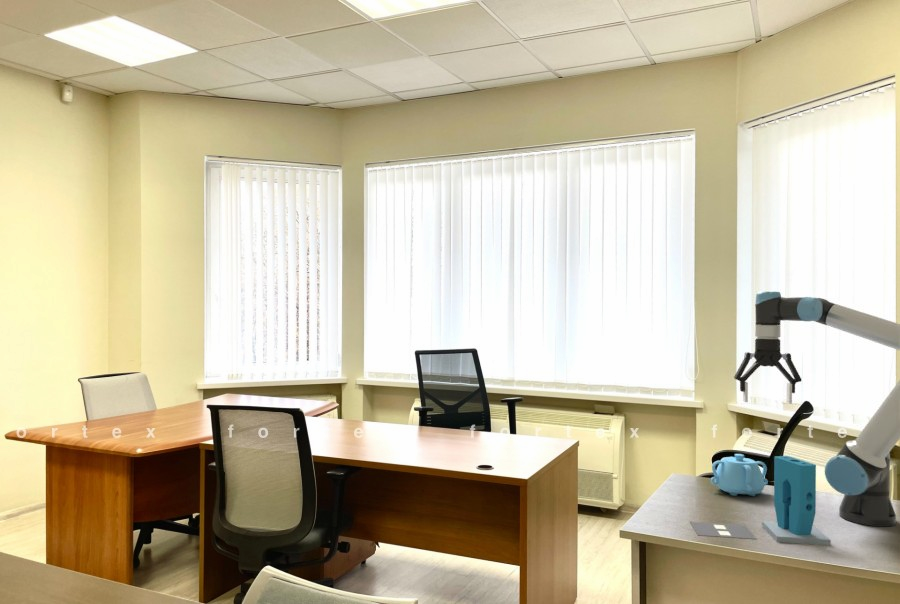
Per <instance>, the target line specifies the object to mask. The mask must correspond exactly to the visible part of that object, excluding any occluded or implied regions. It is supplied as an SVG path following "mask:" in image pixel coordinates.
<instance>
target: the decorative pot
mask: <svg viewBox="0 0 900 604" xmlns="http://www.w3.org/2000/svg"><path fill="white" fill-rule="evenodd" d="M759 465H761V466H762V470H761V468H760V466H759ZM716 466H717V468H716ZM767 467H768V466H767V465H766V464H765V462H763V461H759V460H757V461H755V460H754V459H751V458H748V457H747V458H746V457H745V455H744V454H742V453H734V456H726V457H722V458H721V459H720V460H716V461H714V462H713V463H712V464H711V468H712V469H711V470H712V473H713V476H712V477H711V478H710V483H711V484H712V485H716V486H717V487H718V488H719V489H720V490H722V491H724V492H725V493H729V496H734V497H735V496H736V497H737V496H738V494H739V495H748V496H749V497H750V496H751V497H756V495H759V494H761V493H762V492H763V490H764V489H765V487H766V486H767V485H768V481H769V480H768V479H767V478H766V477H765V476H766V474H767V471H768V468H767Z"/></svg>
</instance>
